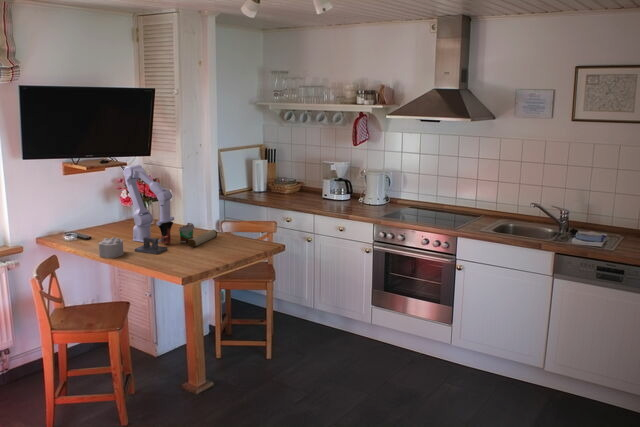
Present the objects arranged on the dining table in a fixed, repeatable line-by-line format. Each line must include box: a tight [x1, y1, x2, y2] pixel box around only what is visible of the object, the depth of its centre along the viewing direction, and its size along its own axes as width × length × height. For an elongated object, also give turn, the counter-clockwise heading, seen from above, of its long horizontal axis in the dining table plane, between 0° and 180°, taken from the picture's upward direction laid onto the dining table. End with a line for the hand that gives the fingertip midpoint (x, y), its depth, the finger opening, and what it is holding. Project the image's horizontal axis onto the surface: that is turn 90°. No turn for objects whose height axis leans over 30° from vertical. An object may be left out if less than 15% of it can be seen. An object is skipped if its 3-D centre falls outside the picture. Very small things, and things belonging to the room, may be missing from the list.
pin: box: [158, 228, 172, 245], centre depth 337 cm, size 14×4×8 cm, turn 160°
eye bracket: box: [134, 237, 168, 255], centre depth 329 cm, size 10×14×7 cm
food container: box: [178, 222, 195, 245], centre depth 348 cm, size 12×6×10 cm, turn 168°
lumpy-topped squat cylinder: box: [98, 237, 124, 259], centre depth 320 cm, size 10×13×9 cm
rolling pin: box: [186, 229, 218, 248], centre depth 349 cm, size 32×6×5 cm, turn 159°
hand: (165, 235), depth 342 cm, fingers closed on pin, 3 cm apart
